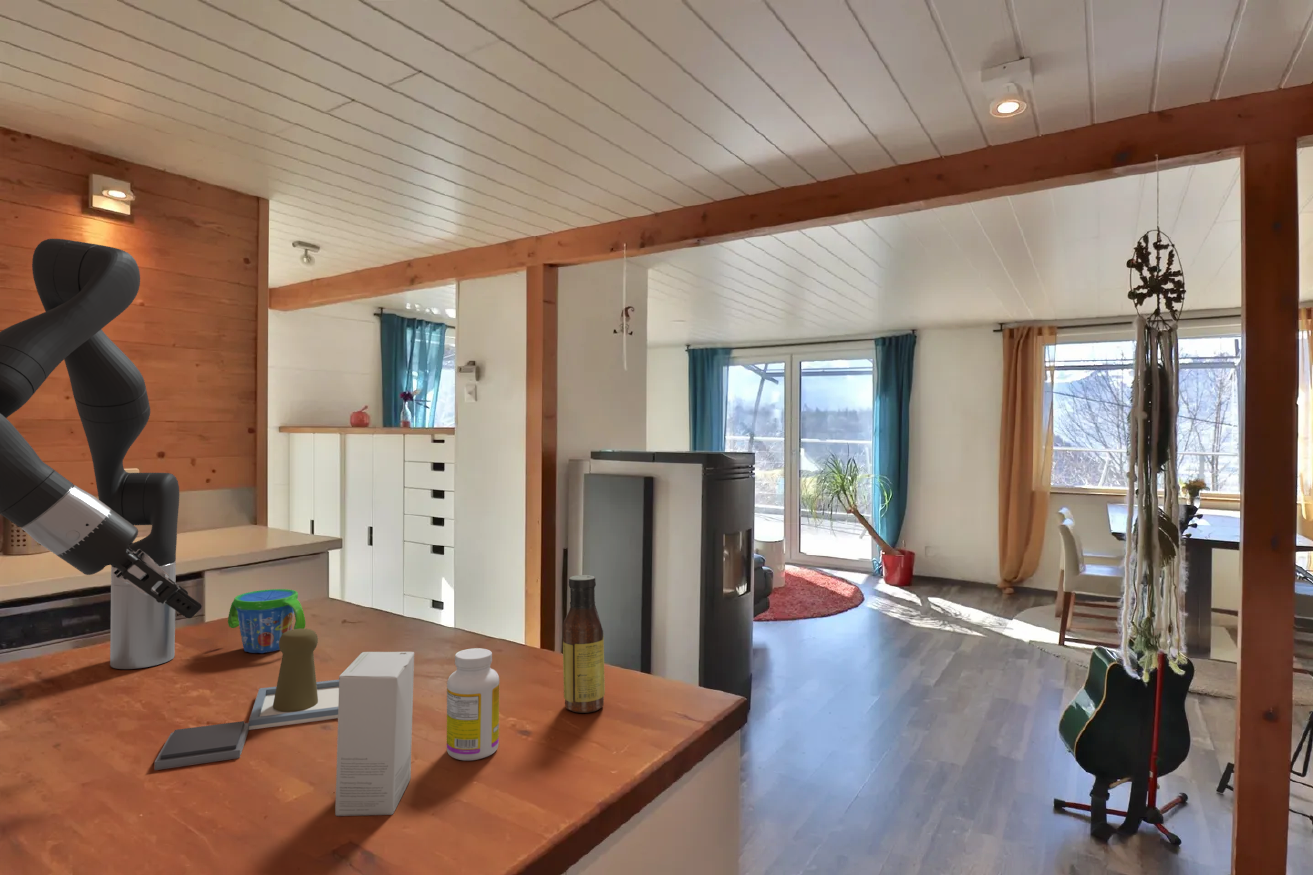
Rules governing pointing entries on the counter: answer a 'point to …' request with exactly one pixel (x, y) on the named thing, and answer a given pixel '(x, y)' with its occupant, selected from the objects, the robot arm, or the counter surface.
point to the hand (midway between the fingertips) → (189, 605)
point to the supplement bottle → (472, 706)
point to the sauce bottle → (583, 649)
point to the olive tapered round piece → (297, 671)
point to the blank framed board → (270, 717)
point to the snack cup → (265, 617)
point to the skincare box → (374, 733)
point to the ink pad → (203, 745)
